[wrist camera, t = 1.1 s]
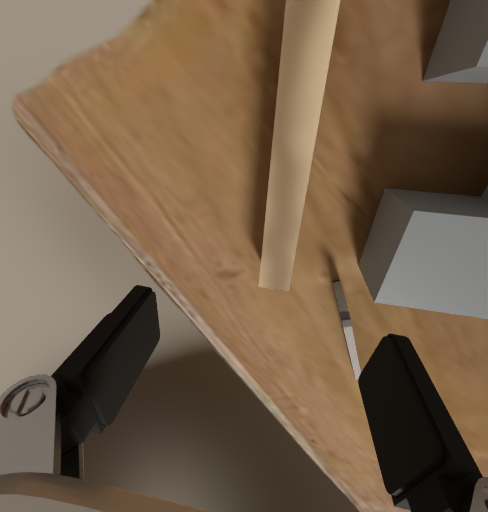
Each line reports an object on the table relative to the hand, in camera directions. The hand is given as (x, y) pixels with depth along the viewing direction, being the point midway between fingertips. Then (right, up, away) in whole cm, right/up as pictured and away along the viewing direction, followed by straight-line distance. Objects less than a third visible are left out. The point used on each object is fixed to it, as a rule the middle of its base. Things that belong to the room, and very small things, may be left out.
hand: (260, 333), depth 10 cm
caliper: (+15, -8, +26) cm, 31 cm away
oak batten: (+4, +12, +16) cm, 21 cm away
